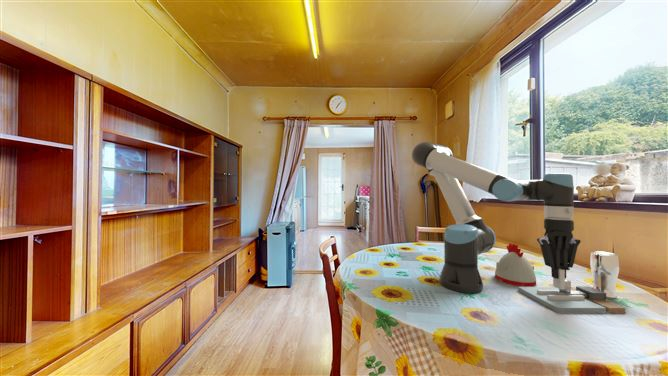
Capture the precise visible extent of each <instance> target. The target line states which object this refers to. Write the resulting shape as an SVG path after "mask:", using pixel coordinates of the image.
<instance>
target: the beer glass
mask: <svg viewBox="0 0 668 376" xmlns="http://www.w3.org/2000/svg"><path fill="white" fill-rule="evenodd" d="M589 260H590V261H589V263H590V271H591V275H592V278H593V279H592V280H593V287H592V288H594V289H597V290H600V291H602V292H605V293H606V299H617V298H618V294H617V291H616V290H617V289H616V285H617V281H618V277H619V273H620V262H619V261H620V260H619V255H618V254H617V253H614V252H613V253H612V252H606V251H599V250H597V251H596V250H594V251H593V250H592V251H591V252H590V259H589Z"/></svg>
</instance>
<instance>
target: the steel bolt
mask: <svg viewBox="0 0 668 376" xmlns="http://www.w3.org/2000/svg"><path fill="white" fill-rule="evenodd" d="M571 287H572V281H571V280H569V279H567V278H566V279H565V289H559V291H557V294H558V295H583V296H584V297H589V293H587V292H585V291H571Z"/></svg>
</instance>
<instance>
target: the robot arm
mask: <svg viewBox="0 0 668 376" xmlns="http://www.w3.org/2000/svg"><path fill="white" fill-rule="evenodd" d="M411 158H412V161H413V162H414V163H415V165H417V166H419V167H422V168H425V169H426V170H427V171H428V175H430V176H432V177H434V178H435V180H436V182H437V185H438V187H439V189H440V191H441V193H442V196H443V198H444V199H445V202H446V204H447V207H448V208H449V211H450V212H451V215H452V216H453V219H454V221H455V224H450V225H448V226H446V227H445V229H444V235H443V238H444V239H443V240H444V242H443V243H444V253H443V254H444V255H443V256H444V259H443V261H444V262H443V263H444V264H443V267H442V269H441V272H440V274H439V284H440V285H442V286H443V287H444V288H446V289H449V290H451V291H454V292H459V293H464V294H475V293H481V292H483V290H484V283H483V279H482V277H481V274H480V271H479V269H478V262H479V259H478V255H481V254H484V253H487V252H489V251H491V250H492V249H493V248H494V247H495V244H496V242H497V241H496V240H497V239H496V238H497V237H496V233H495V232H494V230H493V229H492V228H491V227H490V226H488V225H486V222H484V219H483V218H482V217H480V216H478V215H477V214H476V213H475V210H474V208H473V206H472V205H471V202H470V201H469V199H468V197H467V195H466V193H465V190H464V189H463V187H462V185H461V183H460V182H459V181H461V182H463V183H465V184H468V185H470V186H471V187H472V186H473V187H475V188H476V189H477V188H478V189H479V190H481V191H484V192H486V193H489V194H490V195H492V196H494V197H495V198H496V199H497V200H499V201H502V202H507V203H511V202H516V201H517V202H518V201H519V202H520V201H541V202H543V217H545V218H544V219H543V228H544V229H545V232H544V234H543V235H544V236H543V237H541V238H540V237H538V238H537V239H536V240H537V242H538V245H539V246H540V250H541V253H542V257H543V261H544V265H545V266H546V267H550V268H551V273H550V274H551V277H552V278H553V279H552V287H556V288H558V289H565V279H566V280H567V271H570V270H571V268H574V264H575V259H576V256H577V251H578V247H579V245H580V243H581V240H580V238H579V239H578V238H575V237H574V235H573V231H575V221H574V218H575V217H574V216H575V213H574V209H575V207H574V206H575V205H574V200H575V199H574V197H575V196H574V194H575V193H574V192H575V191H574V189H575V186H574V179H573V174H571V173H568V172H559V173H558V172H557V173H545V174H544V175H543V177H542V179H524V180H522V179H513V178H511V177H508V176H505V175H503V174H500V173H497V172H496V171H495V172H494V171H492V170H489V169H487V168H484V167H481V166H478V165H476V164H473V163H471V162H468V161H465V160H462V159H459V158H456V157H454V155H453V152H452V150H451V149H450V148H449V147H448V146H446V145H443V144H440V143H433V142H430V141H429V142H428V141H422V142H420V143H418V144H416V145H415V146H414V147H413V148H412V152H411Z"/></svg>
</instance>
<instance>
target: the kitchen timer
mask: <svg viewBox="0 0 668 376" xmlns="http://www.w3.org/2000/svg"><path fill="white" fill-rule="evenodd" d="M506 249H507V253H506V254H504V255H502V257H501V258H500V259H499V261H497V262H496V264H495V265H496V266H495V267H496V268H495V272H494V277H495V279H496V280H497V281H500V282H502V283H505V284H508V285H511V286H517V287H524V286H525V287H529V286H530V287H531V286H532V287H536V285H537V276H536V273H535V266H534V265H532V264H531V262H530V261H529V259H528V258H526V256H524V251H522V248H519V246H518V244H515V243H513V244H512V243H508V245H506ZM521 251H522V252H521Z"/></svg>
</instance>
